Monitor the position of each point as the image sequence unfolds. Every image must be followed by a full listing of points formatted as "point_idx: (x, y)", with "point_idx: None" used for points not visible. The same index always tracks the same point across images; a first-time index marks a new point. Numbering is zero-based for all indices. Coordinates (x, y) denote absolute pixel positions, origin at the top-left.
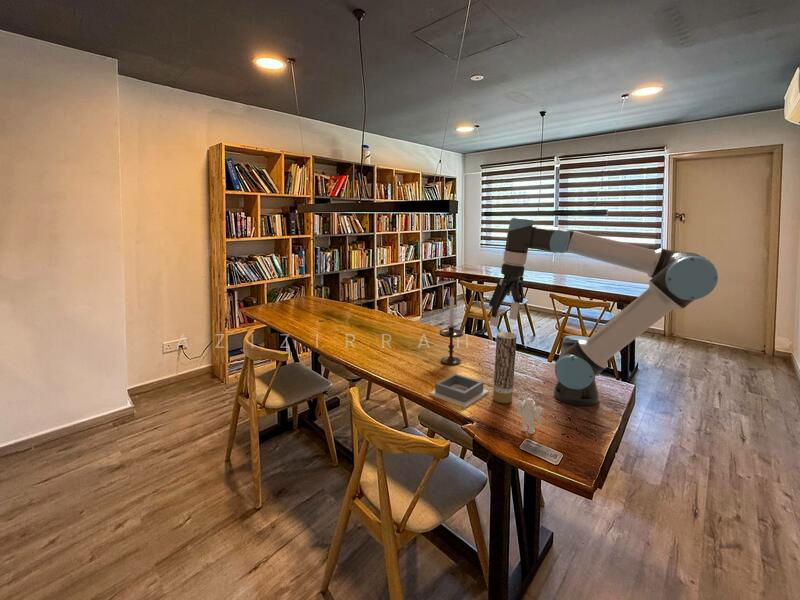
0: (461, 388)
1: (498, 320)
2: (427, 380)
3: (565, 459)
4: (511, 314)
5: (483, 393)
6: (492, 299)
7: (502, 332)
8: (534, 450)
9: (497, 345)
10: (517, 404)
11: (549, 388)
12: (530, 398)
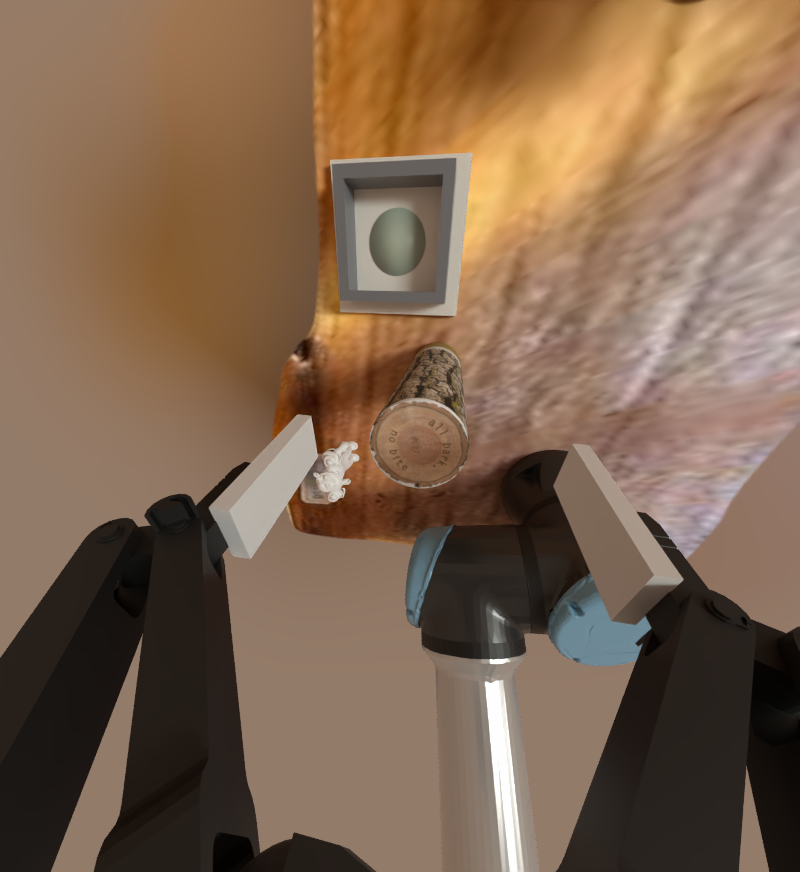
0: (419, 235)
1: (300, 482)
2: (424, 37)
3: (321, 507)
4: (580, 479)
5: (429, 313)
6: (63, 599)
7: (439, 418)
8: (309, 473)
9: (387, 401)
10: (322, 458)
11: (574, 434)
12: (327, 488)
